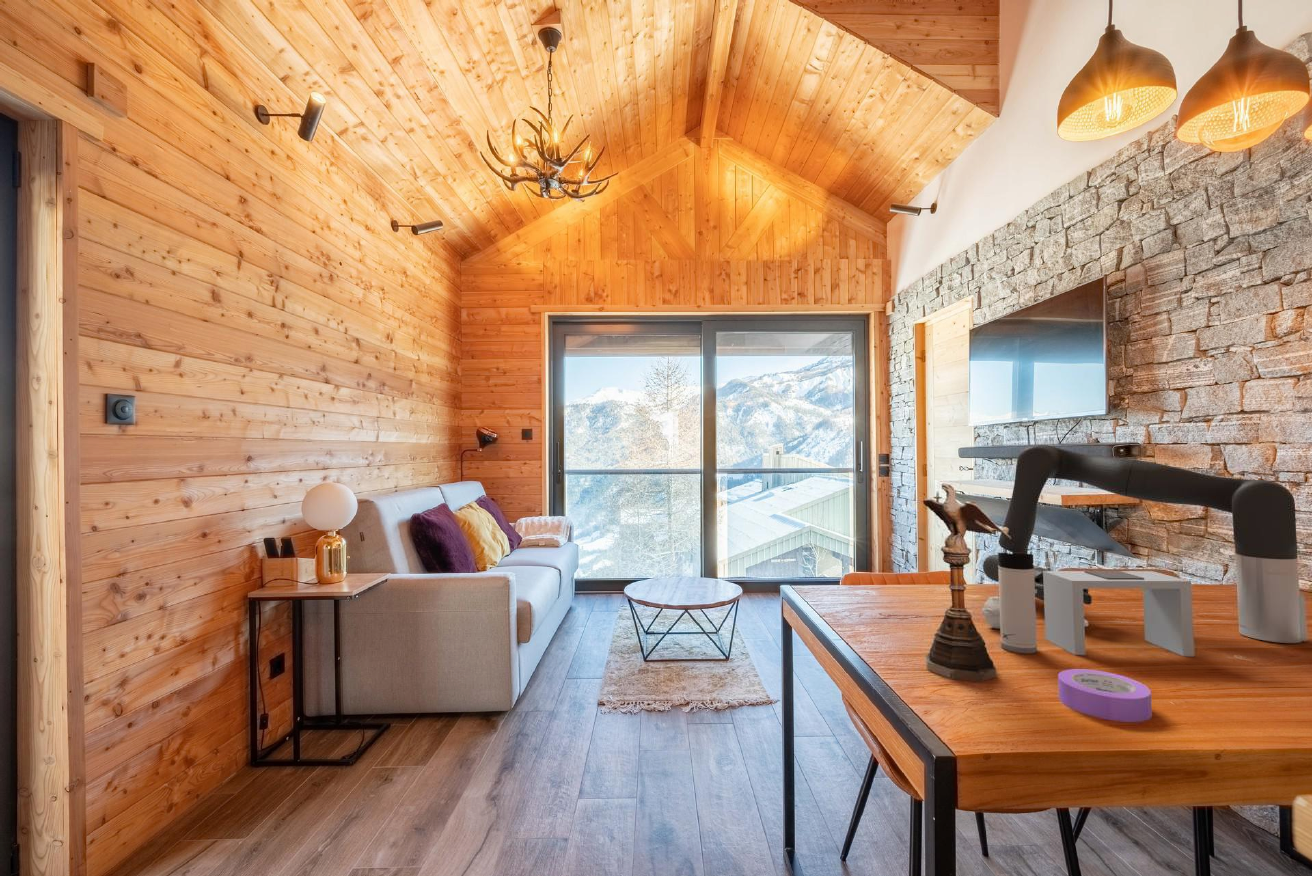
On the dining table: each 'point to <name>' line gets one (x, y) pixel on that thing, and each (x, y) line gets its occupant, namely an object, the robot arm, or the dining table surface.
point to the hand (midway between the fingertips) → (1082, 599)
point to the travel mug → (1017, 602)
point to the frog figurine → (992, 612)
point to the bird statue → (960, 595)
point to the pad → (1113, 575)
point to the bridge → (1161, 593)
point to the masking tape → (1105, 695)
